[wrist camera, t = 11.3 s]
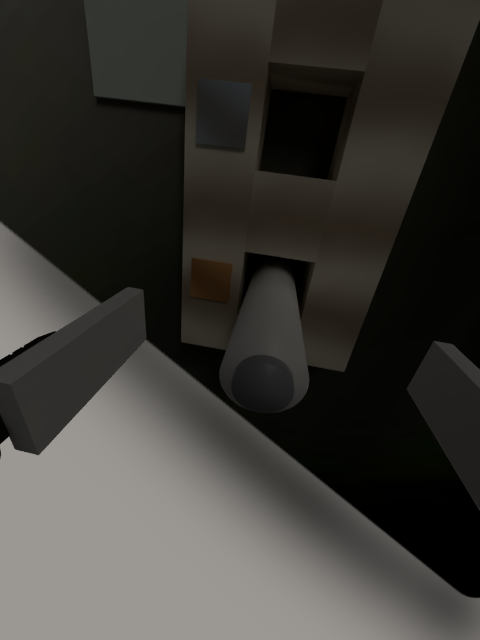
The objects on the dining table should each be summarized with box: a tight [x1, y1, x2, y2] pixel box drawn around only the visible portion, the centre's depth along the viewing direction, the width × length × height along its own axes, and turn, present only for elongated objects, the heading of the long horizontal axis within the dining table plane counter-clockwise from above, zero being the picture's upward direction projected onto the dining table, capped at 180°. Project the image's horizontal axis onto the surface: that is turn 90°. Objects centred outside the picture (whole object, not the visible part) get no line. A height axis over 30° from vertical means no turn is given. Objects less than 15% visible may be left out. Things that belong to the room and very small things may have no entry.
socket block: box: [181, 0, 480, 372], centre depth 18 cm, size 22×14×4 cm, turn 172°
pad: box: [84, 0, 187, 108], centre depth 16 cm, size 10×10×1 cm
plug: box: [219, 258, 309, 413], centre depth 16 cm, size 4×4×15 cm
